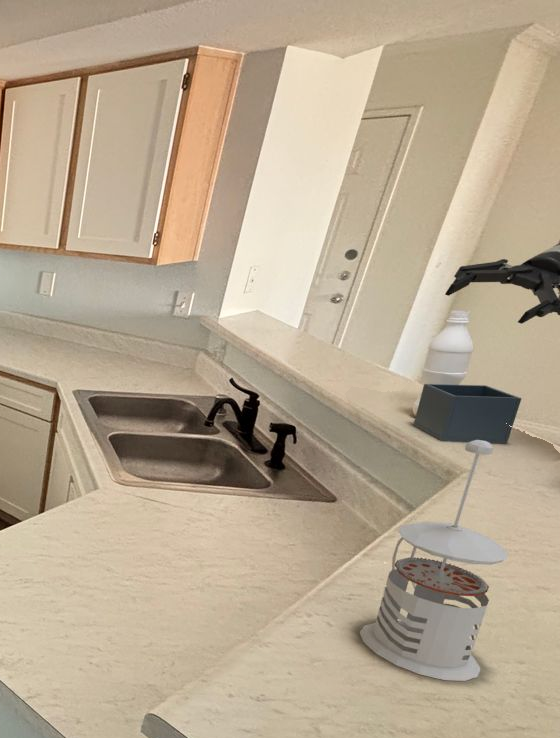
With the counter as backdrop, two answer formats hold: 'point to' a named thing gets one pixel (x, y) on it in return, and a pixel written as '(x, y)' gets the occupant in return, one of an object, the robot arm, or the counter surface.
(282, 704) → the counter surface
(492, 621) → the counter surface
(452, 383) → the water bottle
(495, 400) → the tub
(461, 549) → the french press
